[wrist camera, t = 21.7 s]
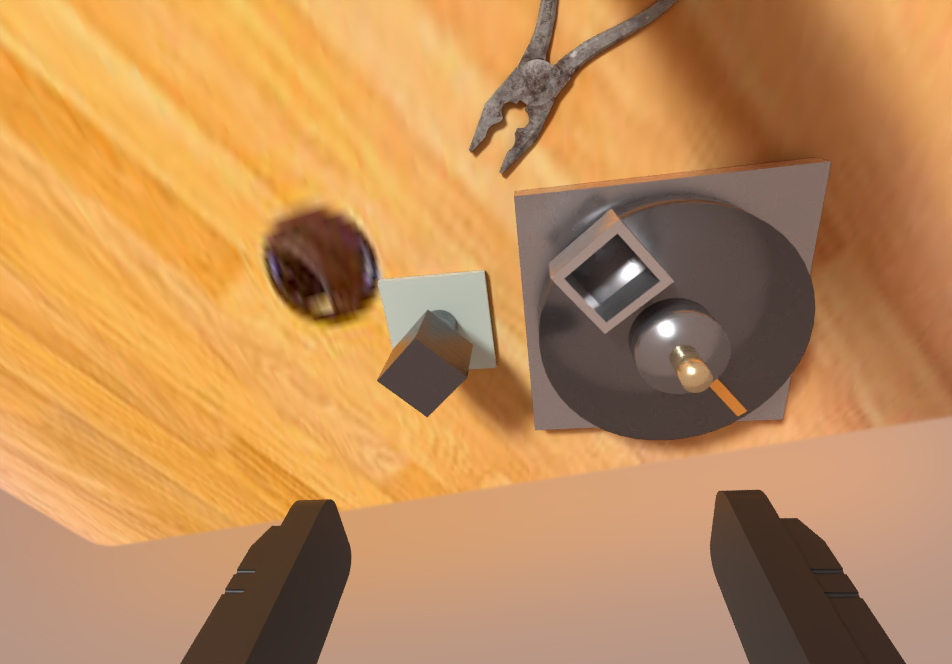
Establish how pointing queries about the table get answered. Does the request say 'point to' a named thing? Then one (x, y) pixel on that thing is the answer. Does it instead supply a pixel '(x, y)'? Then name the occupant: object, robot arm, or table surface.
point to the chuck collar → (674, 317)
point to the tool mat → (443, 308)
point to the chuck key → (428, 362)
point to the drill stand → (578, 206)
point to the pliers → (549, 75)
